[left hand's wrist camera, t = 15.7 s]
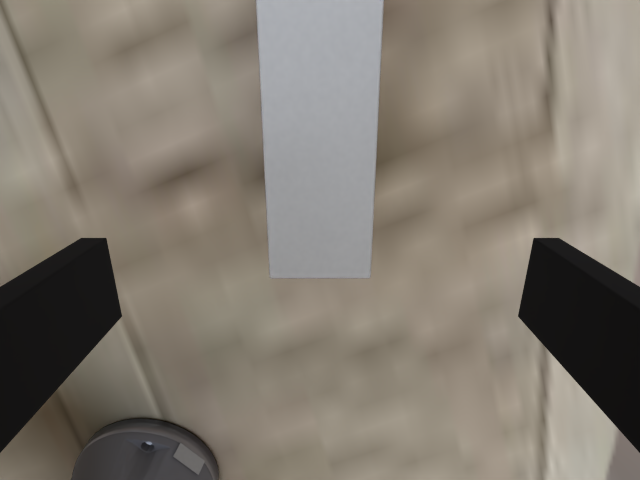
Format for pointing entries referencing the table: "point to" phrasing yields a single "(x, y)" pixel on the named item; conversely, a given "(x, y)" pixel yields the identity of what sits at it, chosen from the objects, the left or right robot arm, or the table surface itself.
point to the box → (319, 133)
